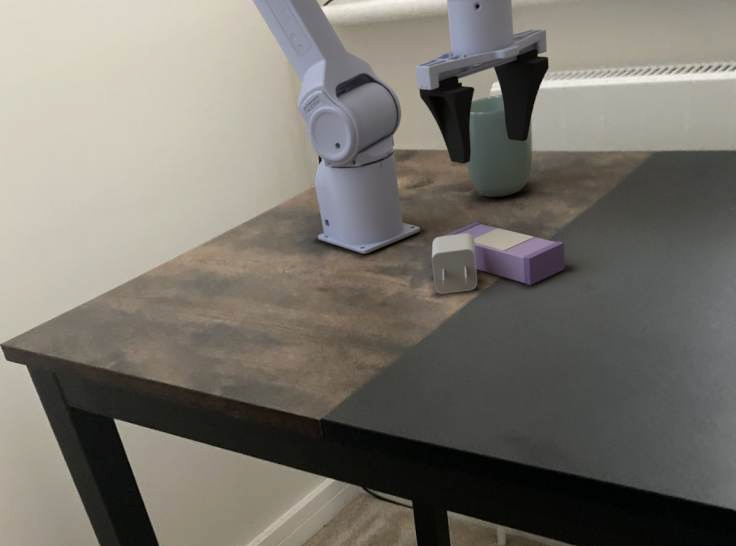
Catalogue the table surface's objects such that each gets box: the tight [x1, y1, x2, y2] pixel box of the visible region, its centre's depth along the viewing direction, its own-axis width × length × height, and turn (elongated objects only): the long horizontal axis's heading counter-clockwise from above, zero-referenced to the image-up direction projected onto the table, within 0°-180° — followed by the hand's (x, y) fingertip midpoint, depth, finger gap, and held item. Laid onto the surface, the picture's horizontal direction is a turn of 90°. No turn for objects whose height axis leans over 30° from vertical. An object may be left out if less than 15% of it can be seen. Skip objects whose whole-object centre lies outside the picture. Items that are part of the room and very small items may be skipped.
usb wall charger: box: [431, 233, 478, 295], centre depth 84 cm, size 4×7×4 cm, turn 175°
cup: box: [466, 94, 533, 198], centre depth 104 cm, size 8×8×10 cm
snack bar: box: [443, 221, 566, 286], centre depth 87 cm, size 12×4×3 cm, turn 36°
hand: (489, 150), depth 88 cm, fingers open, 7 cm apart
